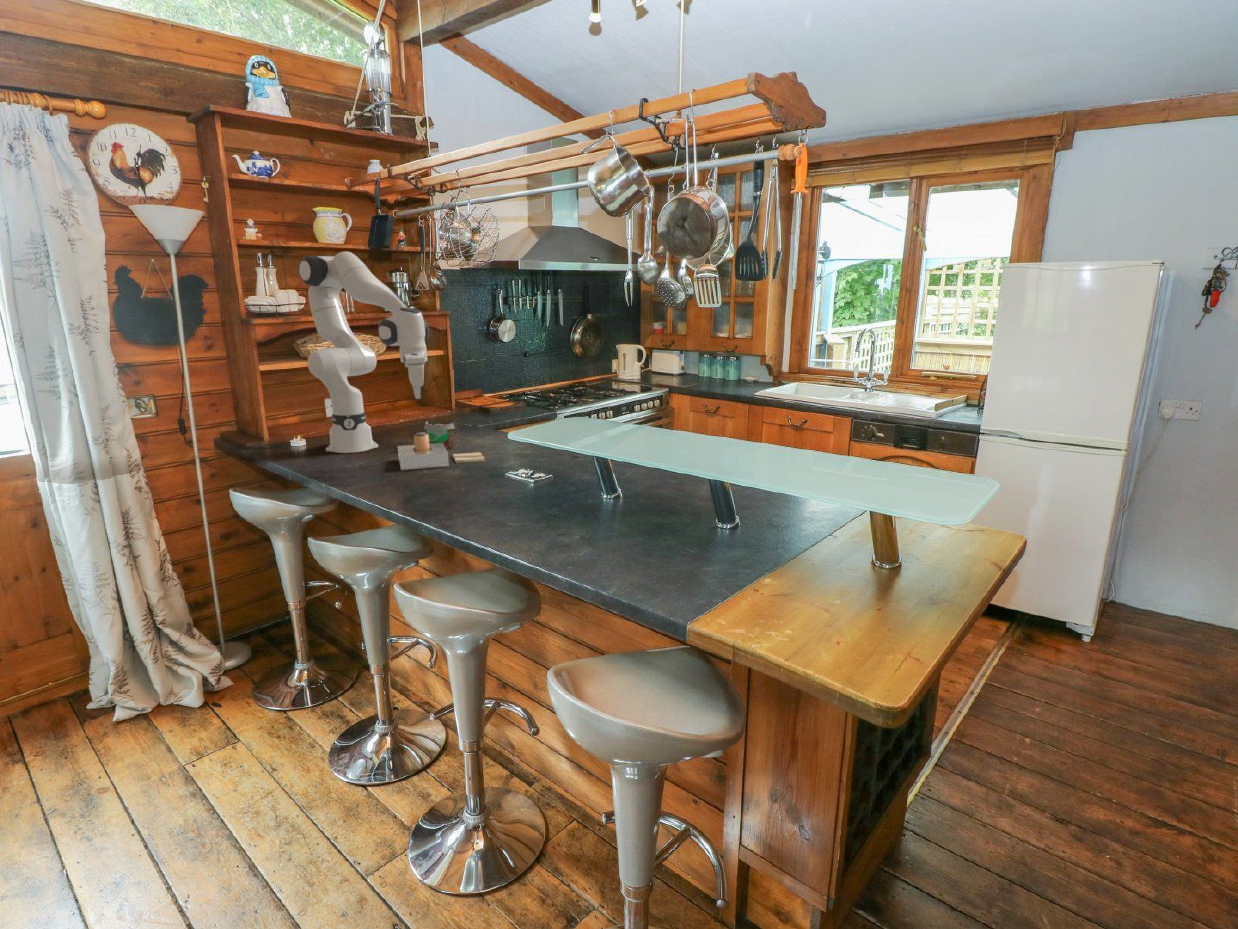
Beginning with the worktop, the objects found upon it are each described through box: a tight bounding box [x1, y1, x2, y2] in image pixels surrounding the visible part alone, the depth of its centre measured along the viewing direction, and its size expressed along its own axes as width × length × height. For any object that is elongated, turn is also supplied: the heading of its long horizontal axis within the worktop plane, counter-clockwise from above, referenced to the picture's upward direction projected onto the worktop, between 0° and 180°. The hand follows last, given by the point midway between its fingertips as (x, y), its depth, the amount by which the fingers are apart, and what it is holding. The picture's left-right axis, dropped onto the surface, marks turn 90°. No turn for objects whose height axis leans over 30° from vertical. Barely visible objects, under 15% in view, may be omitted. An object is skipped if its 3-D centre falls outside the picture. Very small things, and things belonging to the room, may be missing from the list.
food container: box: [423, 420, 456, 451], centre depth 257 cm, size 12×6×10 cm, turn 73°
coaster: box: [452, 451, 486, 464], centre depth 243 cm, size 10×10×1 cm
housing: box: [397, 443, 450, 471], centre depth 237 cm, size 16×16×5 cm
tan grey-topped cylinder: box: [413, 431, 430, 452], centre depth 237 cm, size 5×5×11 cm
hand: (417, 396), depth 232 cm, fingers open, 8 cm apart
